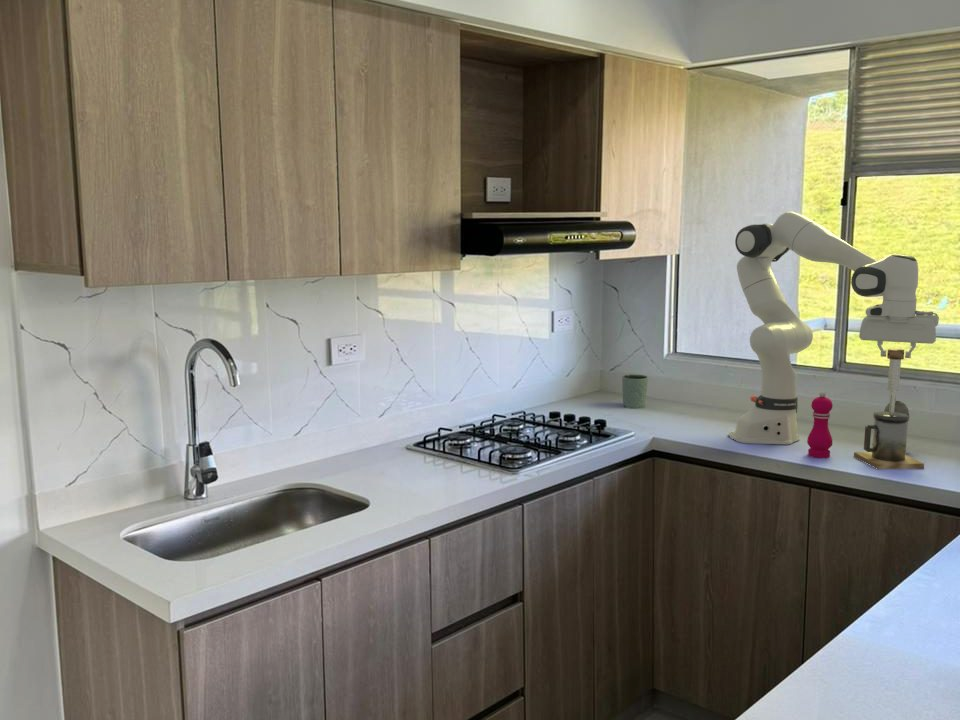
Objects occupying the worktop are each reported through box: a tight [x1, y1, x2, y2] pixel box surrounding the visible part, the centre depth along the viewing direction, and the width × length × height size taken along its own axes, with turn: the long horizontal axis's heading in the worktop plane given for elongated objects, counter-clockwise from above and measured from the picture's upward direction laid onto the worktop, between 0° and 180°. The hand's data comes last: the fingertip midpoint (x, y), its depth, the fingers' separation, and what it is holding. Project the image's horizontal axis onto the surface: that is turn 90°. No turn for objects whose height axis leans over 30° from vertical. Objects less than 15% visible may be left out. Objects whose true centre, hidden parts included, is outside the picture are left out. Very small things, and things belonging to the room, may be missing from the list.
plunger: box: [886, 348, 905, 392], centre depth 253 cm, size 4×4×12 cm
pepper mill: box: [806, 391, 834, 459], centre depth 263 cm, size 7×7×20 cm
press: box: [863, 391, 910, 462], centre depth 255 cm, size 12×10×22 cm
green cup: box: [621, 373, 649, 409], centre depth 339 cm, size 10×10×12 cm
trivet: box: [853, 451, 925, 470], centre depth 257 cm, size 14×14×2 cm
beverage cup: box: [883, 394, 910, 416], centre depth 271 cm, size 7×7×20 cm
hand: (895, 357), depth 252 cm, fingers open, 5 cm apart
